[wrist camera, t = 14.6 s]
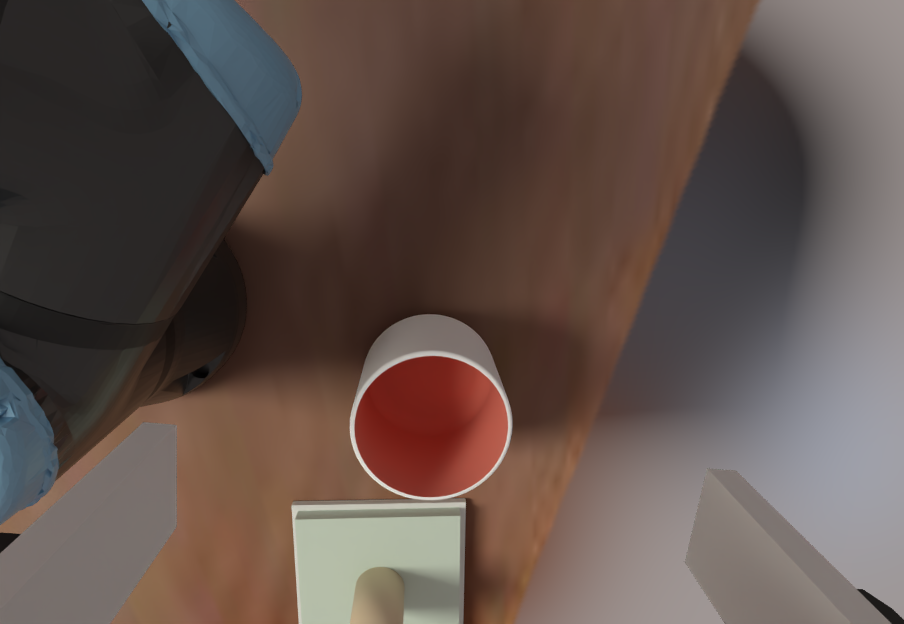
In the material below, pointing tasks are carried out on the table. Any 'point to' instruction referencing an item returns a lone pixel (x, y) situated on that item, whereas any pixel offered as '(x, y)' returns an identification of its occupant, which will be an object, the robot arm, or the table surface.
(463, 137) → the table surface
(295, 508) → the mat
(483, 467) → the cup
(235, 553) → the table surface
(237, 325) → the robot arm
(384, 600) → the lid
